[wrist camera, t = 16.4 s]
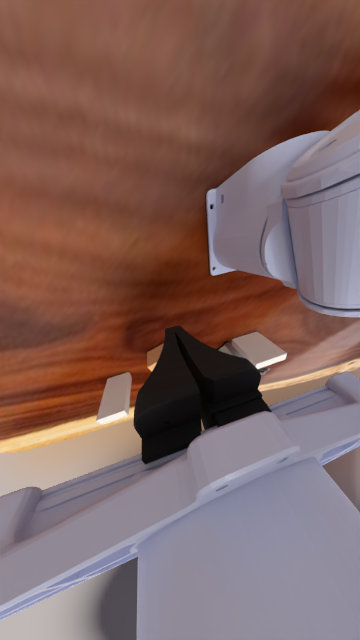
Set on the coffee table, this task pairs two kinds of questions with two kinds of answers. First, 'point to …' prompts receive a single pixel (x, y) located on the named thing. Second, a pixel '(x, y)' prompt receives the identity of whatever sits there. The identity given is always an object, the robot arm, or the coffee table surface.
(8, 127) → the coffee table surface
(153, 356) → the stepped wooden block
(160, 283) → the coffee table surface
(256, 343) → the door frame
